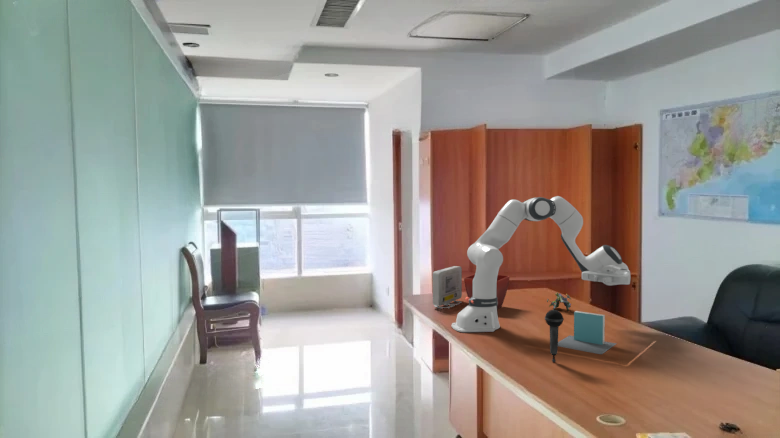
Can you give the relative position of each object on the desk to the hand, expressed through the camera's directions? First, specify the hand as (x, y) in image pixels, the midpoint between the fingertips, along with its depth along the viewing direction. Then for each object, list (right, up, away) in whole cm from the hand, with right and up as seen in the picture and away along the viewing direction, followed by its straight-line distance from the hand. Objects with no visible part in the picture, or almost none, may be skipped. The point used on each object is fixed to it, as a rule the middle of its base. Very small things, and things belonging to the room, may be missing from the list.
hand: (599, 279), depth 241 cm
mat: (-11, -26, -11) cm, 30 cm away
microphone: (-29, -28, -31) cm, 51 cm away
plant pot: (-39, -22, +59) cm, 73 cm away
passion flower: (-2, -22, +50) cm, 55 cm away
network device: (-59, -21, +66) cm, 91 cm away
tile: (-7, -25, -8) cm, 27 cm away
